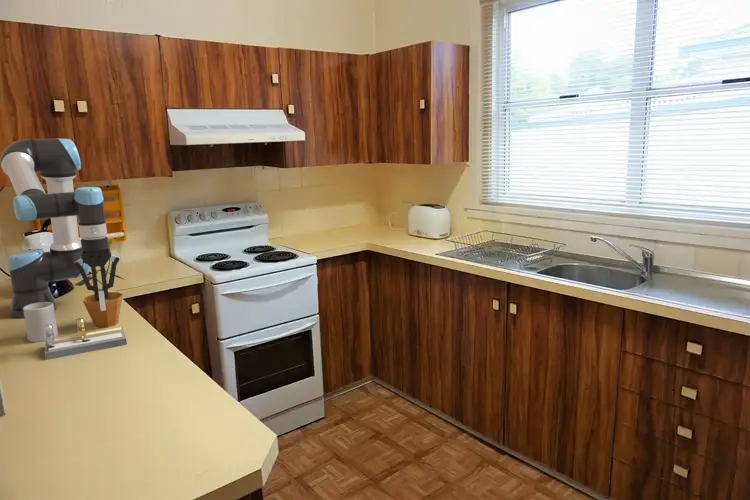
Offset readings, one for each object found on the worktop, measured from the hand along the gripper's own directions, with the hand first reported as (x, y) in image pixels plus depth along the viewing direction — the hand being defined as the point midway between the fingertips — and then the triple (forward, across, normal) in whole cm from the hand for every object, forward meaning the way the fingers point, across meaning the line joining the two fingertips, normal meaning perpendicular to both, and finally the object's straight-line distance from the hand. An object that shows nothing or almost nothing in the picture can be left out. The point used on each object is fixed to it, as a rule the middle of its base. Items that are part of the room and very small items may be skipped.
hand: (103, 309), depth 172 cm
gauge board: (+10, -6, -3) cm, 12 cm away
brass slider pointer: (+7, -7, -2) cm, 10 cm away
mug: (+11, -18, +15) cm, 26 cm away
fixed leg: (+7, -15, -2) cm, 17 cm away
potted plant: (+11, +1, +16) cm, 20 cm away
